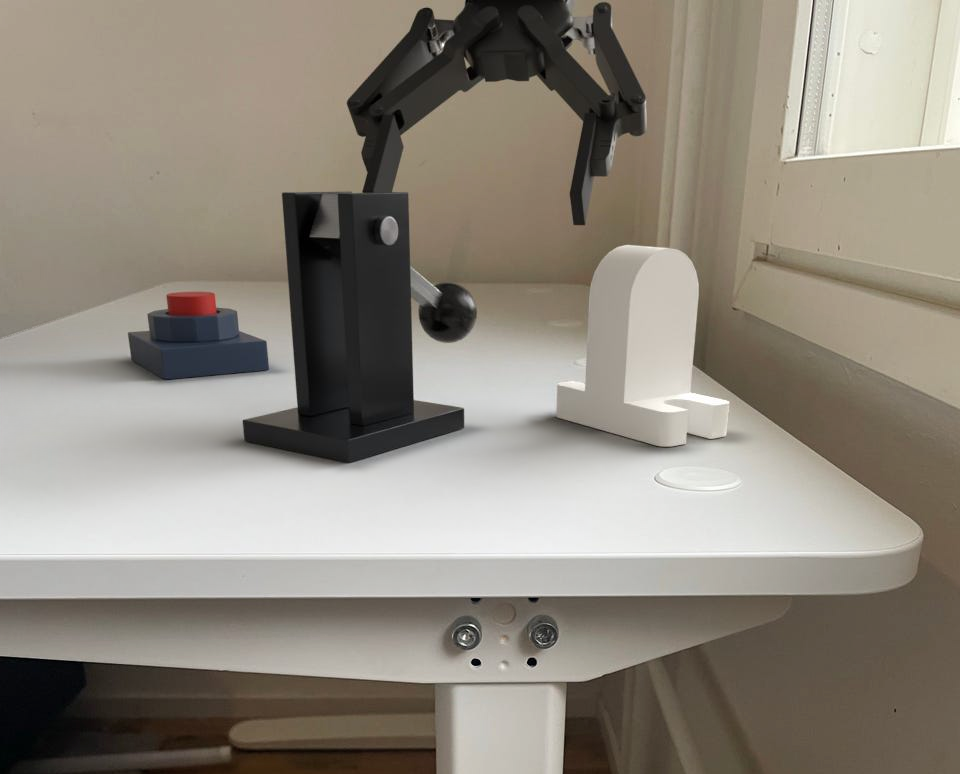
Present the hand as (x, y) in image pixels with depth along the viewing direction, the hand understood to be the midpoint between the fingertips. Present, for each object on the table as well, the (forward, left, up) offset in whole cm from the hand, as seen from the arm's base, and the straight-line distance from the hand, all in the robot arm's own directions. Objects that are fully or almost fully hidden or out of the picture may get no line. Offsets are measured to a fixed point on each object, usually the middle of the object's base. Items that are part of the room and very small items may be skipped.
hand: (472, 209), depth 66 cm
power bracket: (+2, -14, -12) cm, 19 cm away
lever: (+2, -11, -5) cm, 12 cm away
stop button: (-24, -4, -8) cm, 25 cm away
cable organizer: (+14, -2, -12) cm, 19 cm away
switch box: (-24, -4, -12) cm, 27 cm away
